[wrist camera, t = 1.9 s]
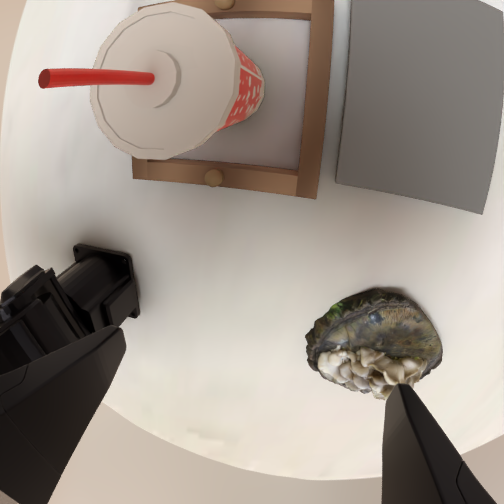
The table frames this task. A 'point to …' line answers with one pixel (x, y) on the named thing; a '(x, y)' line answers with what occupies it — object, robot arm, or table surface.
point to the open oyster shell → (374, 343)
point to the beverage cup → (166, 82)
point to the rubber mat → (423, 99)
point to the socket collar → (307, 177)
